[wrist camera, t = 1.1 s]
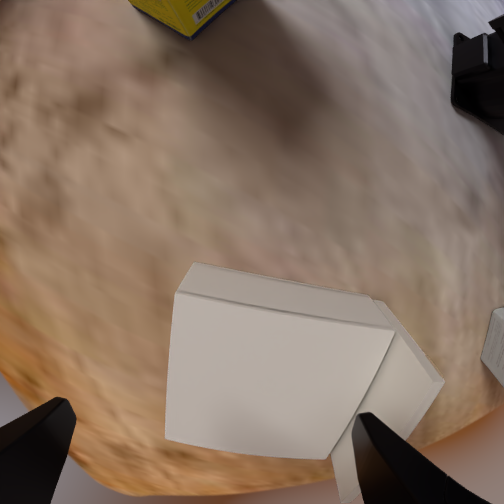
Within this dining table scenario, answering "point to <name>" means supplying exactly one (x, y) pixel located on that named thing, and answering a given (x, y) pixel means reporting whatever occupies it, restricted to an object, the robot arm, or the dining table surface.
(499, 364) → the skincare box
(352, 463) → the flap
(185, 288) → the carton
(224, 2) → the supplement box
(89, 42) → the dining table surface
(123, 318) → the dining table surface
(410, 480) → the robot arm
